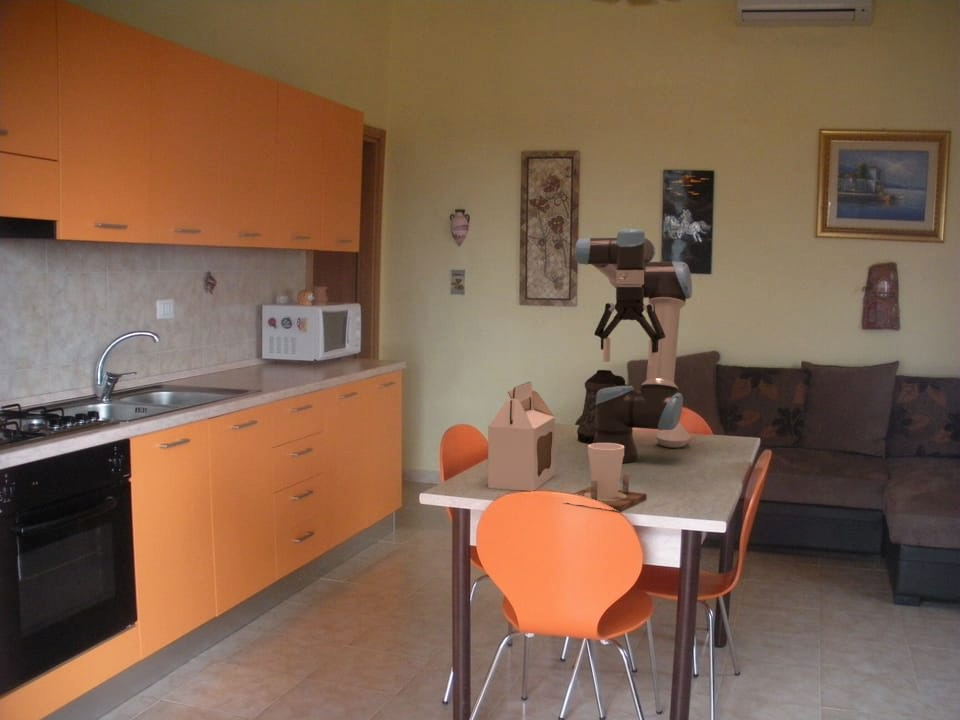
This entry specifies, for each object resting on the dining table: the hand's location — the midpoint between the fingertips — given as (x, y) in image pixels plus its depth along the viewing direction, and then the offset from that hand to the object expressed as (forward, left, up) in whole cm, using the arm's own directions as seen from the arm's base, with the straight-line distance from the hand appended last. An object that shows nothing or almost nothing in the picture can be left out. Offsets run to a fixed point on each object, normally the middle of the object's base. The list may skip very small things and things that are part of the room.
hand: (628, 363), depth 260 cm
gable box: (+12, -27, -35) cm, 46 cm away
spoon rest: (-69, -16, -35) cm, 79 cm away
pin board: (+19, +3, -35) cm, 40 cm away
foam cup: (+19, +3, -33) cm, 38 cm away
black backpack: (-59, -37, -35) cm, 78 cm away
